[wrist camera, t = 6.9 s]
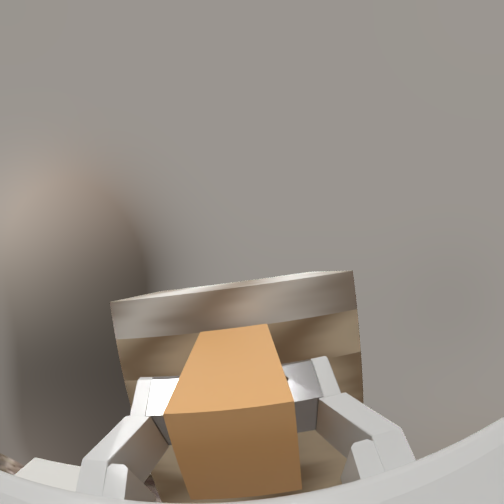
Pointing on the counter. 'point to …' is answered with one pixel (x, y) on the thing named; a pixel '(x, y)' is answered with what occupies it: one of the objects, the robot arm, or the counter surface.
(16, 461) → the counter surface
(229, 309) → the socket tower
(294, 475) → the plug
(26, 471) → the pedestal
